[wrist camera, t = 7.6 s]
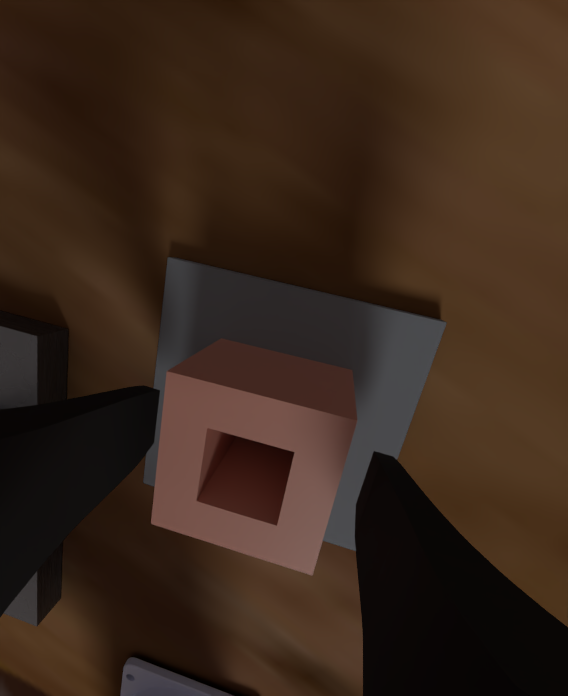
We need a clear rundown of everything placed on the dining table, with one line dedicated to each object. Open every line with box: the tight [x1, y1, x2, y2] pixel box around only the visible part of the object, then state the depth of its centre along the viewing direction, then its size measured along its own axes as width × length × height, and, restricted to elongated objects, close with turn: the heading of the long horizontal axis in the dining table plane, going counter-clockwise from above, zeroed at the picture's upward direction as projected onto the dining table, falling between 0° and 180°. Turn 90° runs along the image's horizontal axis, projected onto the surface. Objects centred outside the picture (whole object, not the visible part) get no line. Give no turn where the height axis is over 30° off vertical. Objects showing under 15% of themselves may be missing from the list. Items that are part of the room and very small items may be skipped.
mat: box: [143, 257, 446, 551], centre depth 13 cm, size 10×10×1 cm
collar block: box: [151, 338, 357, 575], centre depth 11 cm, size 5×5×4 cm
